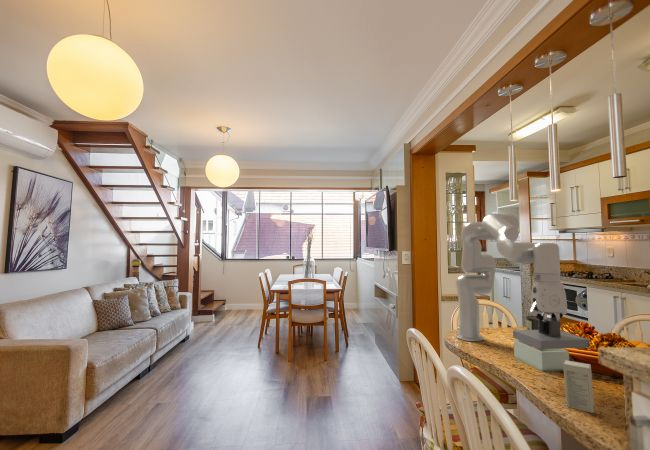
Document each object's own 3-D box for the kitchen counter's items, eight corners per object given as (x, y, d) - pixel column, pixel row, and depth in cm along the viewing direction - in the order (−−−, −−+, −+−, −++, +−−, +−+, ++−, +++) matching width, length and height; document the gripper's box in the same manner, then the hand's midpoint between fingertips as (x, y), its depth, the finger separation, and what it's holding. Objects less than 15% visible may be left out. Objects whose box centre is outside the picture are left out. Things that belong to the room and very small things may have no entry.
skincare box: (594, 408, 93) (592, 364, 94) (593, 414, 90) (591, 368, 90) (566, 400, 97) (564, 359, 98) (564, 406, 94) (563, 362, 95)
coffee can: (560, 352, 142) (559, 319, 142) (542, 354, 139) (540, 321, 140) (539, 345, 151) (538, 314, 152) (521, 347, 149) (520, 316, 150)
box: (514, 357, 135) (513, 340, 135) (538, 356, 136) (538, 339, 136) (542, 371, 120) (541, 352, 120) (569, 370, 121) (568, 351, 121)
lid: (541, 349, 103) (540, 324, 104) (513, 337, 116) (512, 316, 116) (589, 347, 105) (588, 323, 105) (556, 336, 118) (555, 315, 118)
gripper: (533, 279, 107) (535, 336, 106) (578, 279, 109) (580, 335, 108) (517, 277, 115) (519, 330, 113) (559, 277, 117) (561, 329, 115)
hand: (549, 332), depth 111 cm, fingers closed on lid, 3 cm apart
